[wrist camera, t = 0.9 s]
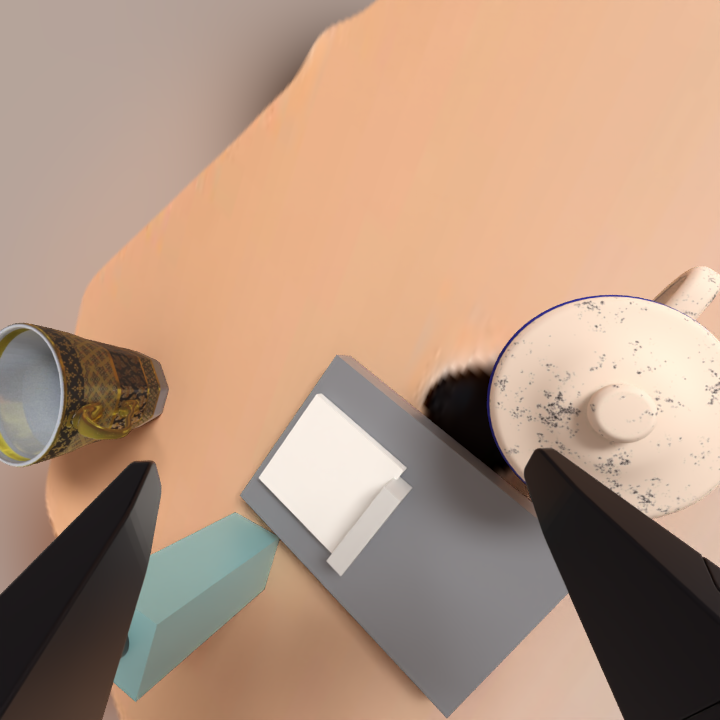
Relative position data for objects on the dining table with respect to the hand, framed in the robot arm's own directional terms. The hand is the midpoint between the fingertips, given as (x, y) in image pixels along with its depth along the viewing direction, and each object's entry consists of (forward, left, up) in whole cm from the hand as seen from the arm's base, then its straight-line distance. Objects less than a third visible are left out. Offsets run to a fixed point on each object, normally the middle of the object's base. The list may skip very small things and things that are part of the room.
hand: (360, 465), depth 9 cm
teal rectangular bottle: (-7, +20, -18) cm, 28 cm away
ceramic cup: (+8, +26, -19) cm, 33 cm away
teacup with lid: (-1, -8, -19) cm, 20 cm away
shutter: (-2, +9, -16) cm, 18 cm away
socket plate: (-6, +7, -18) cm, 20 cm away
